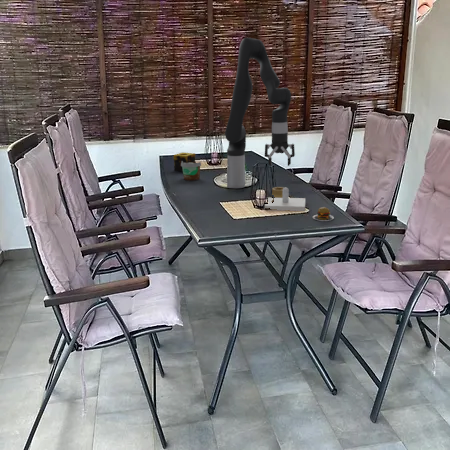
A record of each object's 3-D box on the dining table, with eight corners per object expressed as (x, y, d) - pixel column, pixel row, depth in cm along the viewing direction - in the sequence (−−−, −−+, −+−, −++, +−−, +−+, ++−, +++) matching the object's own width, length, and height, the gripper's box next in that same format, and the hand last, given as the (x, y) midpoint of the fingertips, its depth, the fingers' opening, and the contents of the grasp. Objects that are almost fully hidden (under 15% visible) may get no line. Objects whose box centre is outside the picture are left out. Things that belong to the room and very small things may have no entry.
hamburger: (317, 213, 223) (318, 202, 222) (342, 218, 216) (343, 206, 214) (303, 220, 215) (303, 208, 213) (328, 226, 207) (329, 213, 205)
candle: (196, 169, 316) (196, 153, 313) (187, 172, 308) (186, 156, 305) (183, 167, 321) (182, 152, 318) (173, 170, 313) (173, 154, 310)
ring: (271, 198, 246) (271, 190, 244) (272, 195, 252) (272, 186, 250) (285, 199, 245) (285, 190, 243) (285, 195, 251) (285, 187, 249)
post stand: (264, 210, 229) (264, 190, 226) (267, 201, 242) (267, 183, 239) (304, 210, 226) (305, 191, 223) (305, 202, 239) (305, 184, 236)
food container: (177, 180, 288) (176, 162, 285) (182, 177, 294) (181, 160, 291) (197, 181, 284) (196, 164, 281) (201, 179, 289) (201, 162, 286)
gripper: (263, 133, 236) (264, 167, 241) (294, 132, 234) (294, 167, 239) (265, 130, 243) (265, 164, 248) (295, 130, 241) (294, 163, 246)
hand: (279, 165), depth 243 cm, fingers open, 8 cm apart
